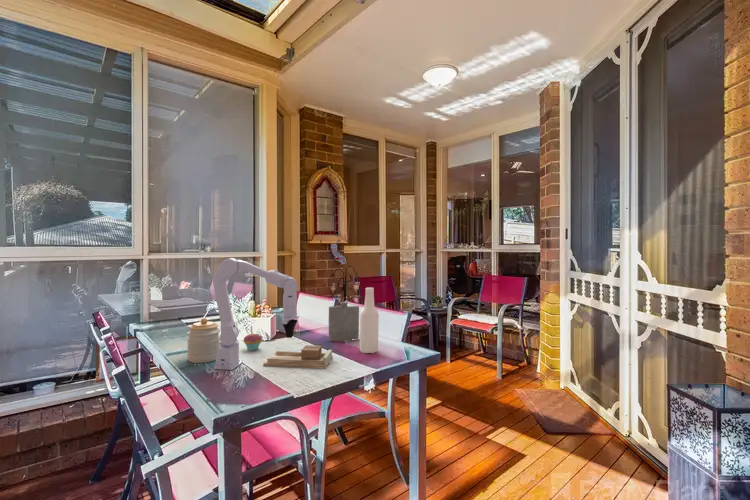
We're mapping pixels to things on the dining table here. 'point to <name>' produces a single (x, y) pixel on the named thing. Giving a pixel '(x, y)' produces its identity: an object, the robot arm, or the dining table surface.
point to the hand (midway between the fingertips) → (289, 337)
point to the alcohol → (369, 324)
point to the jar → (203, 341)
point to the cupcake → (252, 341)
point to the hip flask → (343, 322)
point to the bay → (297, 360)
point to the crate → (311, 352)
